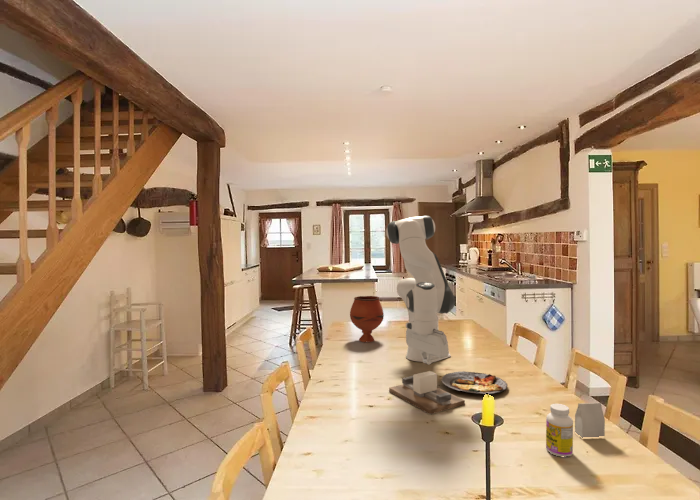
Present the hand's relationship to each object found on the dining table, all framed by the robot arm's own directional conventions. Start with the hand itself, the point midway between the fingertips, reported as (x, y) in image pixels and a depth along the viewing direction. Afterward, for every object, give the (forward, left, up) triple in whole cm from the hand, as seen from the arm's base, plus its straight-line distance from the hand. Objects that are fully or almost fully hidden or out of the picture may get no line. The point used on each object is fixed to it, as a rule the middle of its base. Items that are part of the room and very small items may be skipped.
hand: (426, 363), depth 155 cm
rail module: (+1, 0, -11) cm, 11 cm away
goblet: (-24, -82, -13) cm, 87 cm away
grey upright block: (-22, +48, -13) cm, 54 cm away
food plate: (-23, +1, -13) cm, 27 cm away
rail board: (+1, 0, -13) cm, 13 cm away
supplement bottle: (-6, +49, -13) cm, 51 cm away
